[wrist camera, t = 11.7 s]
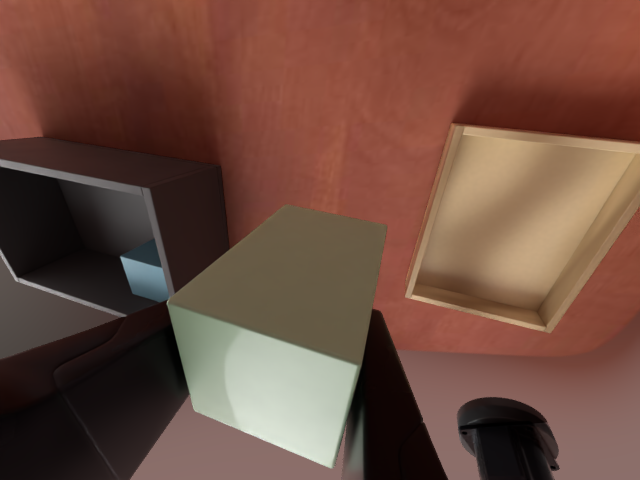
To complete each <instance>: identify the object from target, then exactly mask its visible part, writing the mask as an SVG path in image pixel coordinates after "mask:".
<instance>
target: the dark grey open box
mask: <svg viewBox="0 0 640 480" xmlns="http://www.w3.org/2000/svg"><path fill="white" fill-rule="evenodd" d="M154 238H155V242H156V246H157V250H158V254H159V257H160V261H161V265H162V269H163V273H164V277H165V281H166V285H167V289H168V293H169V297H170V298H171V297H172V296H173V295H174V294H175V293H177V292H178V291H179V290H180V289H182V288H183V287H184V286H185V285H187V284H188V283H189V282H190V281H192V280H193V279H194V278H195V277H196V276H198V275H199V274H200V273H201V272H203V271H204V270H205V269H206V268H208V267H209V266H210V265H211V264H212V263H214V262H215V261H216V260H217V259H219V258H220V257H221V256H222V255H224V254H225V253H226V252H227V251H228V250H229V242H228V233H227V223H226V213H225V204H224V194H223V184H222V175H221V166H220V165H214V164H208V163H201V162H195V161H189V160H183V159H177V158H170V157H164V156H158V155H152V154H146V153H139V152H133V151H127V150H121V149H115V148H108V147H102V146H96V145H90V144H84V143H77V142H71V141H65V140H59V139H53V138H46V137H34V138H22V139H11V140H0V255H1V257H2V258H3V260H4V262H5V264H6V265H7V267H8V269H9V270H10V272H11V274H12V275H13V277H14V279H15V281H17V282H21V283H23V284H26V285H29V286H32V287H35V288H38V289H41V290H44V291H47V292H50V293H52V294H55V295H58V296H61V297H64V298H67V299H70V300H73V301H76V302H79V303H81V304H84V305H87V306H90V307H93V308H96V309H99V310H102V311H104V312H107V313H110V314H113V315H116V316H119V317H123V316H125V317H126V316H127V315H129V314H131V313H134V312H136V311H139V310H142V309H144V308H147V307H149V306H152V305H154V304H157V303H160V302H157V301H154V300H151V299H148V298H145V297H142V296H138V295H135V294H133V293H132V290H131V288H130V285H129V282H128V279H127V276H126V273H125V270H124V267H123V264H122V261H121V258H120V256H121V255H123V254H125V253H127V252H129V251H131V250H133V249H135V248H137V247H139V246H141V245H143V244H144V243H146V242H148V241H150V240H152V239H154Z"/></svg>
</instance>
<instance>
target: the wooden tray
mask: <svg viewBox="0 0 640 480" xmlns="http://www.w3.org/2000/svg"><path fill="white" fill-rule="evenodd" d="M639 206H640V142H638V141H628V140H618V139H608V138H598V137H588V136H578V135H568V134H559V133H549V132H539V131H529V130H519V129H509V128H499V127H489V126H479V125H469V124H459V123H451V125H450V129H449V132H448V136H447V139H446V142H445V146H444V149H443V153H442V156H441V160H440V163H439V167H438V170H437V173H436V177H435V180H434V184H433V187H432V191H431V194H430V198H429V201H428V204H427V208H426V211H425V215H424V218H423V222H422V225H421V229H420V232H419V236H418V239H417V242H416V246H415V249H414V253H413V256H412V260H411V263H410V267H409V270H408V273H407V277H406V280H405V297H406V298H411V299H414V300H418V301H422V302H426V303H430V304H434V305H438V306H442V307H446V308H450V309H454V310H458V311H462V312H466V313H470V314H474V315H479V316H483V317H487V318H491V319H495V320H499V321H503V322H507V323H511V324H515V325H519V326H523V327H527V328H531V329H535V330H539V331H544V332H547V333H551V332H552V331H553V329H554V328H555V326H556V325H557V324H558V322H559V321H560V319H561V318H562V316H563V315H564V314H565V312H566V311H567V309H568V308H569V306H570V305H571V304H572V302H573V301H574V299H575V298H576V296H577V295H578V294H579V292H580V291H581V289H582V288H583V286H584V285H585V284H586V282H587V281H588V279H589V278H590V276H591V275H592V274H593V272H594V271H595V269H596V268H597V266H598V265H599V264H600V262H601V261H602V259H603V258H604V256H605V255H606V254H607V252H608V251H609V249H610V248H611V246H612V245H613V244H614V242H615V241H616V239H617V238H618V236H619V235H620V234H621V232H622V231H623V229H624V228H625V226H626V225H627V224H628V222H629V221H630V219H631V218H632V216H633V215H634V214H635V212H636V211H637V209H638V208H639Z"/></svg>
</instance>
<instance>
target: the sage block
mask: <svg viewBox="0 0 640 480" xmlns="http://www.w3.org/2000/svg"><path fill="white" fill-rule="evenodd" d="M386 232H387V225H385V224H380V223H375V222H370V221H365V220H360V219H356V218H351V217H346V216H341V215H336V214H331V213H326V212H322V211H317V210H312V209H307V208H302V207H297V206H292V205H288V204H286V205H284V206H283V207H281V208H280V209H279V210H278V211H277V212H275V213H274V214H273V215H272V216H270V217H269V218H268V219H267V220H265V221H264V222H263V223H262V224H261V225H259V226H258V227H257V228H256V229H254V230H253V231H252V232H251V233H249V234H248V235H247V236H246V237H245V238H243V239H242V240H241V241H240V242H238V243H237V244H236V245H235V246H233V247H232V248H231V249H230V250H228V251H227V252H226V253H225V254H224V255H222V256H221V257H220V258H219V259H217V260H216V261H215V262H214V263H212V264H211V265H210V266H209V267H208V268H206V269H205V270H204V271H203V272H201V273H200V274H199V275H198V276H196V277H195V278H194V279H193V280H192V281H190V282H189V283H188V284H187V285H185V286H184V287H183V288H182V289H180V290H179V291H178V292H177V293H175V294H174V295H173V296H172V297H171V298H169V299H168V301H167V306H168V310H169V314H170V318H171V322H172V326H173V330H174V334H175V338H176V342H177V346H178V350H179V354H180V358H181V362H182V366H183V370H184V374H185V377H186V381H187V385H188V389H189V393H190V397H191V401H192V405H193V409H194V411H196V412H198V413H201V414H203V415H205V416H208V417H210V418H212V419H215V420H217V421H219V422H222V423H224V424H227V425H229V426H231V427H234V428H236V429H239V430H241V431H243V432H246V433H248V434H250V435H253V436H255V437H258V438H260V439H262V440H265V441H267V442H269V443H272V444H274V445H277V446H279V447H281V448H284V449H286V450H289V451H291V452H293V453H296V454H298V455H300V456H303V457H305V458H308V459H310V460H312V461H315V462H317V463H319V464H322V465H324V466H327V467H329V468H334V466H335V464H336V460H337V457H338V453H339V449H340V445H341V441H342V438H343V434H344V430H345V426H346V422H347V419H348V415H349V411H350V407H351V404H352V400H353V396H354V392H355V388H356V385H357V381H358V377H359V373H360V369H361V366H362V361H363V356H364V350H365V345H366V339H367V334H368V329H369V323H370V318H371V313H372V307H373V302H374V296H375V291H376V286H377V280H378V275H379V269H380V264H381V259H382V253H383V248H384V243H385V237H386Z"/></svg>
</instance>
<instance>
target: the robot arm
mask: <svg viewBox="0 0 640 480" xmlns="http://www.w3.org/2000/svg"><path fill="white" fill-rule="evenodd" d="M167 301H168V299H167V300H165V301H162V302H160V303H157V304H154V305H152V306H149V307H147V308H144V309H142V310H139V311H136V312H134V313H131V314H129V315H127V316H126V317H125V316H123V317H121V318H118V319H116V320H113V321H110V322H108V323H105V324H103V325H100V326H97V327H94V328H92V329H89V330H86V331H83V332H80V333H78V334H75V335H72V336H69V337H66V338H63V339H60V340H57V341H54V342H51V343H48V344H45V345H42V346H39V347H36V348H32V349H30V350H26V351H23V352H20V353H17V354H14V355H11V356H8V357H5V358H2V359H0V480H130V479H131V477H132V476H133V474H134V473H135V471H136V470H137V469H138V467H139V466H140V464H141V463H142V461H143V460H144V459H145V457H146V456H147V454H148V453H149V451H150V450H151V448H152V447H153V446H154V444H155V443H156V441H157V440H158V438H159V437H160V436H161V434H162V433H163V431H164V430H165V429H166V427H167V426H168V424H169V423H170V421H171V420H172V419H173V417H174V416H175V414H176V413H177V411H178V410H179V409H180V407H181V406H182V404H183V403H184V402H185V400H186V399H187V397H188V395H189V394H190V393H189V389H188V385H187V381H186V377H185V374H184V370H183V366H182V362H181V358H180V354H179V350H178V346H177V342H176V338H175V334H174V330H173V326H172V322H171V318H170V314H169V310H168V306H167ZM459 433H460V435H461V436H462V437H463V439H464V440H465V442H466V443H467V445H468V446H469V447H470V449H471V450H472V452H473V453H474V455H475V456H476V460H477V465H478V471H479V477H480V480H555V479H554V476H553V474H552V471H556V470H559V469H560V468H559V465H558V463H557V461H556V459H555V458H554V456H553V454H552V453H551V451H550V449H549V448H548V446H547V444H546V443H545V441H544V439H543V438H542V436H541V434H540V433H539V431H538V429H537V428H536V426H535V424H534V423H533V422H531V421H517V422H503V423H490V424H477V425H463V426H459ZM341 480H448V478H447V476H446V474H445V472H444V469H443V467H442V465H441V462H440V460H439V458H438V455H437V453H436V450H435V448H434V446H433V444H432V441H431V438H430V436H429V433H428V431H427V428H426V426H425V423H423V418H422V415H421V413H420V410H419V408H418V405H417V403H416V400H415V397H414V395H413V392H412V390H411V387H410V385H409V382H408V379H407V377H406V374H405V372H404V370H403V367H402V364H401V361H400V359H399V356H398V354H397V351H396V349H395V346H394V343H393V341H392V338H391V336H390V333H389V331H388V328H387V325H386V323H385V320H384V318H383V315H382V313H381V311H379V310H376V309H372V313H371V318H370V323H369V329H368V334H367V339H366V345H365V350H364V356H363V361H362V366H361V369H360V373H359V377H358V381H357V385H356V388H355V392H354V396H353V400H352V404H351V407H350V411H349V415H348V419H347V427H346V437H345V447H344V458H343V469H342V479H341Z"/></svg>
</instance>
